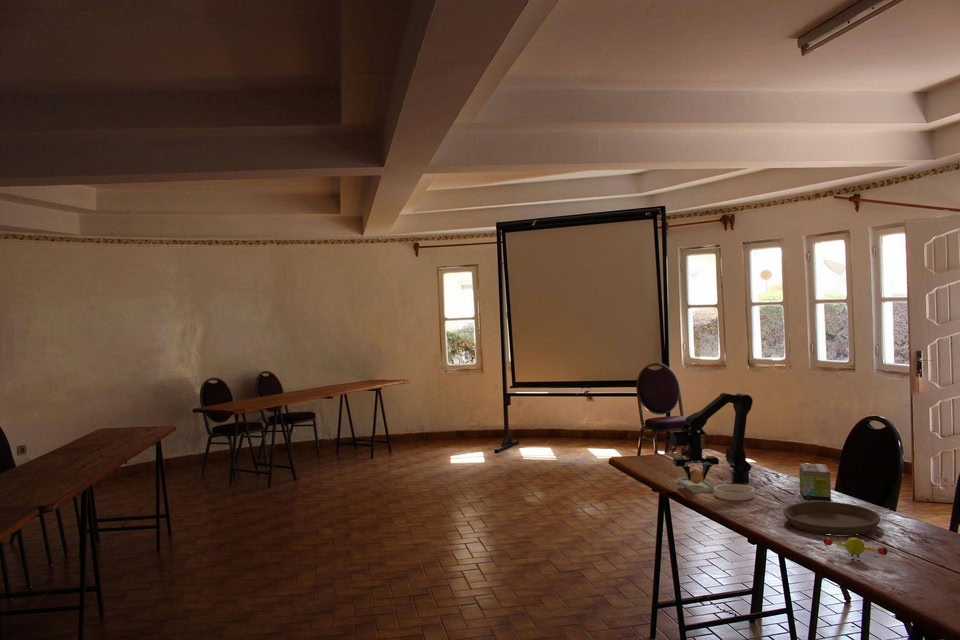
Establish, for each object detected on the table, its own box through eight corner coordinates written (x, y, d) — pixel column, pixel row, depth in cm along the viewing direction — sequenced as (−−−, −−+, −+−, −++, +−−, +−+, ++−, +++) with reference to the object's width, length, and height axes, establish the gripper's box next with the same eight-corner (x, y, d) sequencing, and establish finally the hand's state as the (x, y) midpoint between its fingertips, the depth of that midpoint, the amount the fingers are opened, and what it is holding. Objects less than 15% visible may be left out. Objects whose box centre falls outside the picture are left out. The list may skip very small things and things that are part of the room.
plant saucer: (826, 544, 238) (825, 530, 238) (765, 519, 268) (764, 506, 268) (902, 532, 246) (901, 519, 246) (835, 509, 276) (834, 497, 276)
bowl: (746, 491, 307) (745, 483, 307) (760, 501, 291) (760, 492, 291) (709, 493, 307) (709, 484, 307) (722, 502, 291) (721, 494, 291)
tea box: (832, 510, 275) (830, 471, 274) (803, 509, 278) (801, 470, 278) (827, 500, 289) (825, 463, 289) (799, 499, 292) (798, 462, 292)
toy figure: (890, 562, 218) (889, 540, 218) (886, 568, 214) (885, 545, 214) (827, 551, 230) (826, 530, 230) (821, 556, 226) (820, 534, 226)
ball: (701, 481, 320) (700, 468, 320) (705, 484, 314) (705, 471, 314) (687, 482, 320) (687, 468, 320) (691, 485, 314) (691, 471, 314)
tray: (700, 481, 328) (699, 476, 328) (716, 493, 306) (716, 488, 306) (678, 482, 328) (677, 477, 328) (693, 494, 306) (692, 489, 306)
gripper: (710, 440, 325) (711, 475, 325) (668, 442, 325) (670, 477, 325) (718, 445, 314) (720, 481, 314) (675, 447, 313) (677, 483, 314)
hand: (696, 480), depth 317 cm, fingers closed on ball, 6 cm apart
